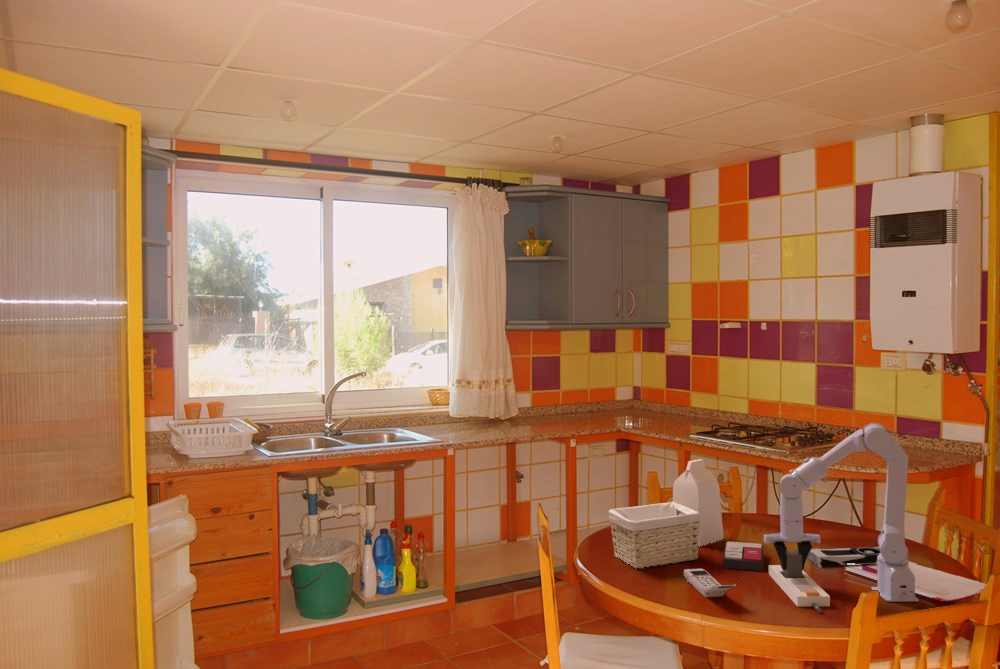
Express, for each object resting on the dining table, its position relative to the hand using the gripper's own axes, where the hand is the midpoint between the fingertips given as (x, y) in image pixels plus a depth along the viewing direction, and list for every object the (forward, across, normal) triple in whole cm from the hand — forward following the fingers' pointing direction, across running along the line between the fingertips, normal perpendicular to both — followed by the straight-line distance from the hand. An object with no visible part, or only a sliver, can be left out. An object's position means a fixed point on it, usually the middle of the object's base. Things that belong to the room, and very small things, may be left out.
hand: (792, 568), depth 205 cm
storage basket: (+4, +34, -23) cm, 41 cm away
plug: (+3, 0, 0) cm, 3 cm away
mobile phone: (+5, +24, +4) cm, 25 cm away
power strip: (+4, 0, +6) cm, 7 cm away
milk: (+4, +17, -42) cm, 46 cm away
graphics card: (+5, -23, -19) cm, 30 cm away
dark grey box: (+5, +8, -19) cm, 21 cm away
